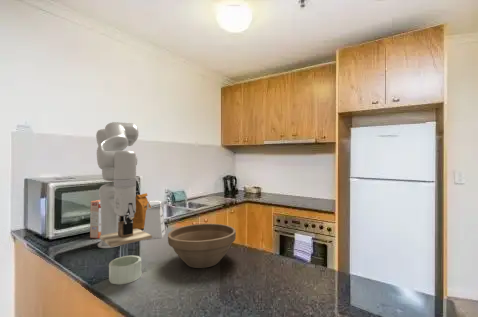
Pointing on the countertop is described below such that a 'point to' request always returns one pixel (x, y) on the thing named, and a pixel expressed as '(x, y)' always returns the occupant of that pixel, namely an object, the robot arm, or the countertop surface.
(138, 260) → the bowl
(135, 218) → the coffee package
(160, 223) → the grater
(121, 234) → the lid
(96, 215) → the cracker box
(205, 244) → the flower pot
